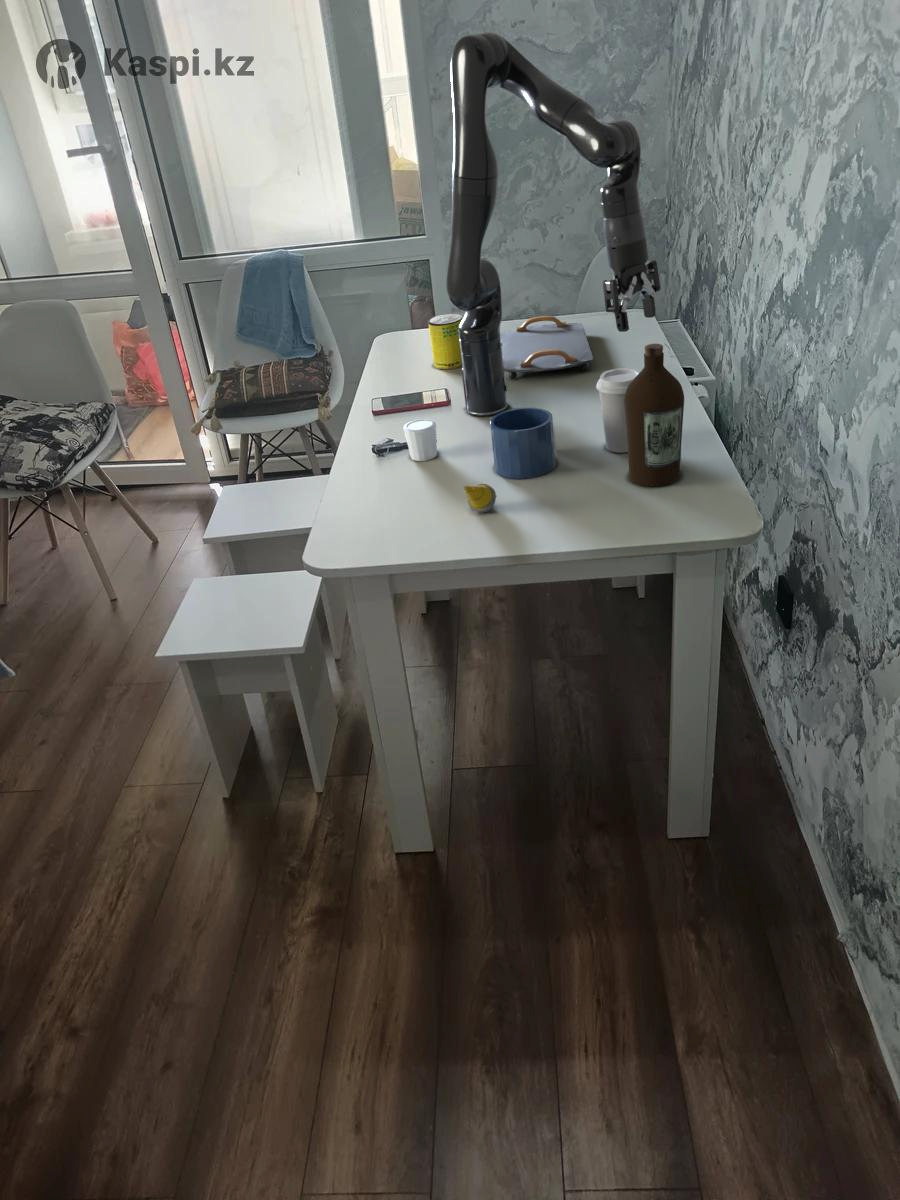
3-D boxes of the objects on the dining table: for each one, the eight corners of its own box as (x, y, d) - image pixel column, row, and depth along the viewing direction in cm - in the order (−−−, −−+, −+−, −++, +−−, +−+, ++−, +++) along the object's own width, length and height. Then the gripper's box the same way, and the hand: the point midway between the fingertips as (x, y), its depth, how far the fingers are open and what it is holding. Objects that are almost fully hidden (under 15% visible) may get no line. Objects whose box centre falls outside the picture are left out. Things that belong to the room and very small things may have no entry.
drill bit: (505, 510, 169) (480, 493, 161) (481, 521, 171) (454, 505, 163) (499, 485, 171) (473, 467, 163) (475, 497, 173) (448, 480, 165)
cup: (483, 467, 186) (477, 421, 180) (529, 448, 191) (526, 402, 186) (519, 484, 177) (515, 436, 171) (568, 464, 182) (565, 416, 177)
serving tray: (596, 374, 224) (595, 349, 220) (502, 385, 226) (500, 360, 223) (582, 330, 256) (581, 307, 253) (500, 339, 259) (498, 317, 255)
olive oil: (617, 471, 176) (613, 344, 163) (668, 460, 178) (669, 333, 164) (639, 493, 167) (637, 360, 154) (693, 481, 169) (695, 348, 155)
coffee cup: (649, 437, 188) (648, 366, 180) (642, 456, 181) (641, 383, 173) (603, 436, 191) (600, 367, 183) (594, 455, 184) (591, 383, 176)
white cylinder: (416, 465, 191) (411, 433, 187) (402, 455, 196) (397, 424, 192) (445, 455, 193) (441, 424, 189) (431, 446, 198) (426, 415, 195)
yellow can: (473, 359, 246) (468, 314, 240) (455, 370, 240) (450, 324, 234) (445, 357, 251) (439, 313, 245) (427, 367, 245) (421, 323, 239)
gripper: (632, 230, 178) (643, 312, 186) (586, 250, 171) (599, 335, 179) (664, 227, 173) (674, 312, 180) (617, 248, 166) (630, 336, 173)
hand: (637, 324), depth 180 cm, fingers open, 8 cm apart
